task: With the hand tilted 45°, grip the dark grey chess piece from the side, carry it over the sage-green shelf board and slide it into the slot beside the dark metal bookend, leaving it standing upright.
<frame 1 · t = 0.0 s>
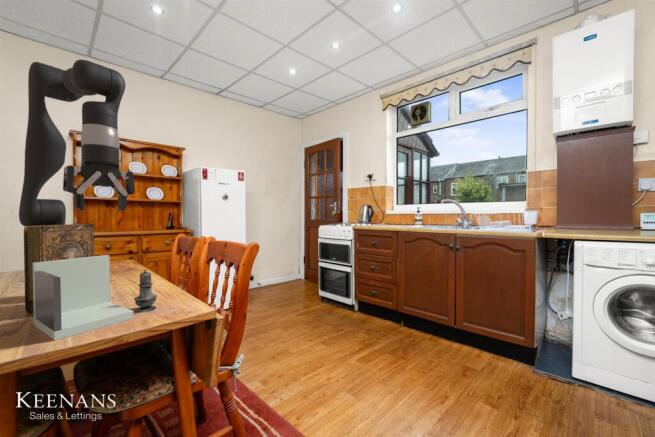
hand: (101, 210, 73), 29 cm above the table, tool pointing down, fingers open, 8 cm apart
book: (65, 306, 88), on the table
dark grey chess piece: (145, 310, 85), on the table
shelf: (85, 321, 76), on the table
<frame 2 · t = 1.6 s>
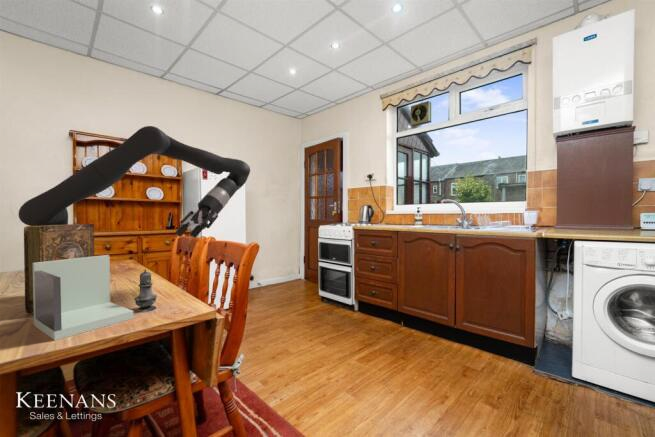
hand: (184, 235, 95), 21 cm above the table, tool tilted 45°, fingers open, 8 cm apart
nothing on the table moved.
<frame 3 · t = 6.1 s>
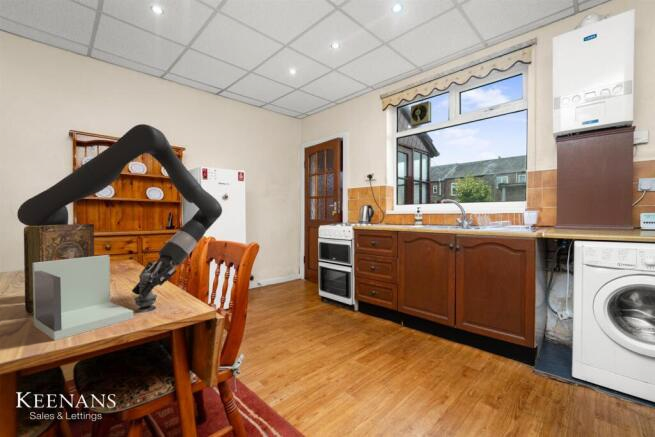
hand: (138, 293, 84), 5 cm above the table, tool tilted 45°, fingers closed on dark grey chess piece, 3 cm apart
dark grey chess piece: (146, 309, 85), on the table, touching gripper
everything else where it was.
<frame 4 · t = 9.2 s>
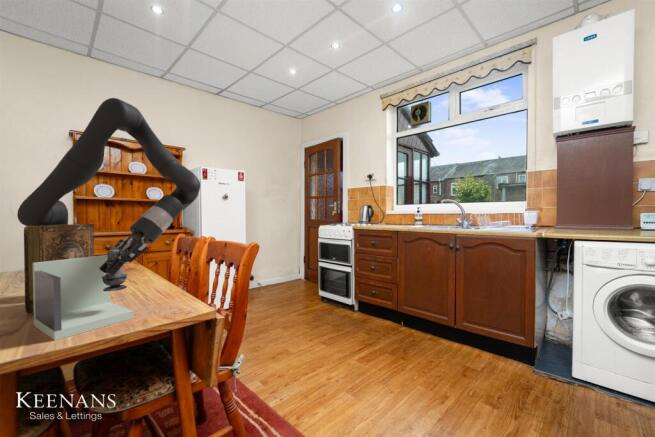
hand: (106, 271, 77), 13 cm above the table, tool tilted 45°, fingers closed on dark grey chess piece, 3 cm apart
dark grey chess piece: (115, 289, 79), point 8 cm above the table, touching gripper
everything else where it was.
when the fingers open (8 cm above the table, at t = 12.3 s): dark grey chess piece drops 1 cm, resting on shelf.
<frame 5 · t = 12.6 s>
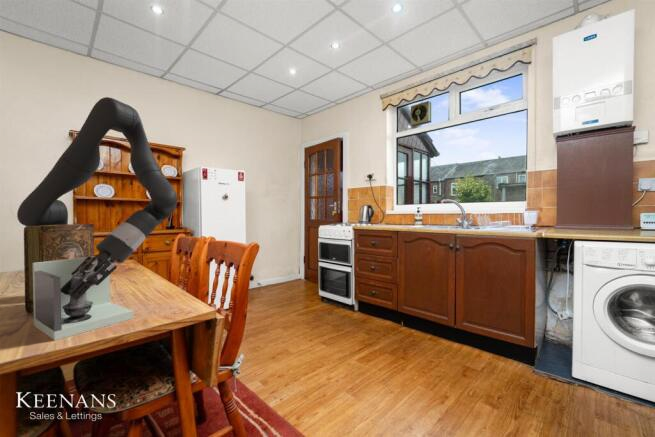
hand: (67, 294, 70), 9 cm above the table, tool tilted 45°, fingers open, 6 cm apart
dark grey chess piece: (78, 319, 72), point 2 cm above the table, touching shelf
everything else where it was.
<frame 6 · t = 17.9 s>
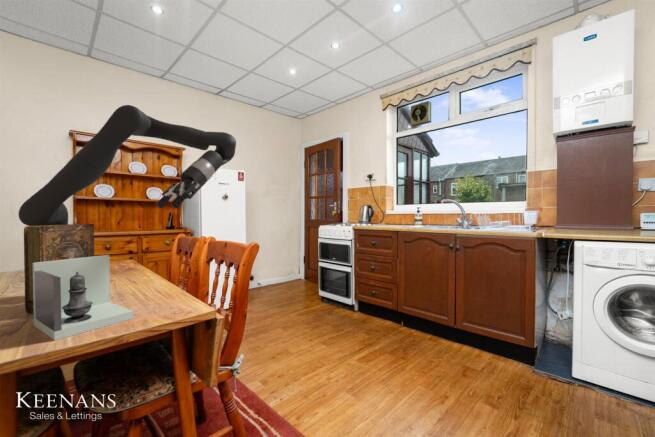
hand: (165, 206, 91), 31 cm above the table, tool tilted 45°, fingers open, 8 cm apart
nothing on the table moved.
at the end: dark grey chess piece 0.1 cm from the target spot on the shelf, point 1.8 cm above the shelf's base; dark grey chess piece tilted 0°; the gripper is holding nothing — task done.
